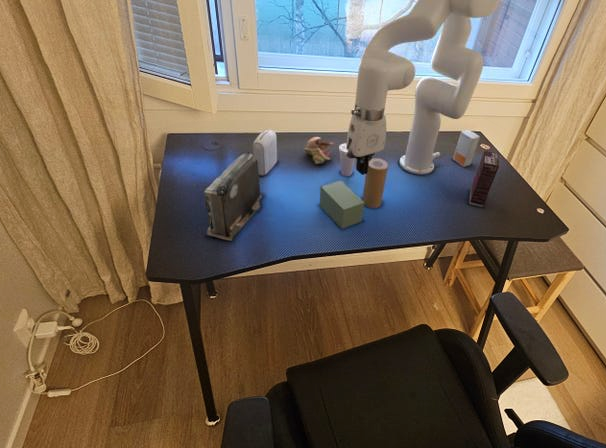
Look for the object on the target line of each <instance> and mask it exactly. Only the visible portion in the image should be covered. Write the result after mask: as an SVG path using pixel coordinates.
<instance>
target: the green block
mask: <svg viewBox="0 0 606 448" xmlns="http://www.w3.org/2000/svg"><path fill="white" fill-rule="evenodd" d="M319 190H320V192H319V206H320V208H321V209H322V210H323V211H324V212H325V213H326V214H327V215H328V216H329V217H330V218H331V219H332V220H333V221H334V223H336V225H338V227H339V228H340V229H342V230H343V229H345V228H348V227H351V226H353V225H356V224H359V223H361V222H363V217H364V208H365V205H364V203H365V202H364V201H363V200H362V199H363V198H361V197H360V196H358V195H357V193H355V192H354V191H353V190H352V189H351V188H350V187H349V186H348V185H347V184H345V182H344V181H342V180H341V179H340V180H338V181H334V182H331V183H328V184H324V185H321V186H320V189H319Z"/></svg>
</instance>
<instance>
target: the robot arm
mask: <svg viewBox="0 0 606 448" xmlns="http://www.w3.org/2000/svg"><path fill="white" fill-rule="evenodd" d="M500 2H501V0H417V1H416V3H415V4H414V6H412V9H411V10H410V12H409V13H408V14H406V15H404V16H401V17H398V18H396V19H395V20H393V21H390V22H389V23H388V24H385V25H384V26H382V27H381V28H379V30H377V31H376V32H375V34H374V35H373V37H372V38H371V39H370V41H369V42H368V43H367V44H366V47H365V49H364V50H363V52H362V55H361V57H360V62H359V65H358V71H357V80H356V91H355V101H354V108H353V109H351V111H350V113H351V119H350V122H349V126H348V130H347V136H346V143H347V144H346V147H347V149H348V152H347V157H349V158H350V159H351V158H356V166H355V170H356V171H357V172H358V173H359V174H360V175H361V176H363V175H364V176H365V175H366V174H367V172H368V165H369V161H371V159H373V156H374V155H375V154H376V153H379V152H382V151H383V150H384V149H385V146H386V140H387V115H385V109H386V103H387V96H388V92H389V91H398V90H403V89H405V88H407V87H409V86H410V85H411V84H412V82H413V81H414V79H415V77H416V67H415V65H414V63H413V62H412V61H411V60H410V59H408V58H406V57H404V56H402V55H399V54H396V53H394V52H391V51H390V50H391V49H392V48H394V47H396V46H398V45H401V44H406V43H417V42H423V41H429V40H431V39H433V38H434V37H435V36H436V35H437V33H438V32H439V30H440V29H441V31H440V34H439V37H438V40H437V42H436V45H435V48H434V51H433V54H432V57H431V60H430V68H431V69H432V71H434V72H435V73H436V74H439V75H441V76H444V77H447V78H449V79H451V80H455V81H457V85H456V84H453V83H451V82H449V81H446V80H443V79H441V78H439V77H434V76H424V77H422V78H421V79H419V81H418V83H417V84H416V87H415V90H414V108H413V109H414V110H413V117H412V121H411V126H410V131H409V136H408V140H407V144H406V151H405V154H403V155H402V156H400V158H399V166H400V167H401V168H402V169H403V170H405V171H406V172H407V173H411V174H415V175H421V176H423V175H429V174H430V173H432V172H433V171H434V169H435V163H434V162H433V161H434V160H435V159H438V158H440V157H441V153H440V152H439V151H437V152H435V153H434V151H435V148H436V144H437V141H438V136H439V133H440V129H441V124H442V122H441V121H442V120H441V118H442V117H441V116H442V115H443V116H445V117H448V118H450V119H452V120H459V119H460V118H462V117H463V116H464V115H465V113H466V111H467V109H468V107H469V105H470V103H471V100H472V98H473V95H474V92H475V90H476V87H477V85H478V84H479V83H478V82H479V80H480V78H481V75H482V72H483V68H484V57H483V55H482V53H481V52H479V51H477V50H475V49H472V48H469V47H467V44H468V41H469V39H470V36H471V34H472V21H471V19H479V18H480V19H481V18H486V17H489V16H491V15H492V14H493V13H494V12H495V11H496V10H497V8H498V6H499V5H500ZM441 27H442V28H441Z"/></svg>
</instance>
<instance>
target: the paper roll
mask: <svg viewBox="0 0 606 448" xmlns="http://www.w3.org/2000/svg"><path fill="white" fill-rule="evenodd" d="M388 168H389V163H388V162H387V161H386V160H384V159H383V158H378V157H377V158H376V157H375V158H372V159H371V161H369V165H368V172H367V174H365V177H364V178H365V179H364V184H363V185H364V186H363V192H362V198H361V199H362V200H363V201H364V202H365V203H364V207H366V208H369V209H377V208H380V207H381V206H382V202H383V197H384V191H385V185H386V179H387V176H388V175H387V174H388Z"/></svg>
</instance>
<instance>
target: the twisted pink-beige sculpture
mask: <svg viewBox="0 0 606 448" xmlns="http://www.w3.org/2000/svg"><path fill="white" fill-rule="evenodd" d="M334 145H335V143H334V142H333V141H331V142H327V141H322V137H319V136H314V137H312V138H310V139H309V140H308V141H307V142H306V147H305V148H303V150H304V151H305V152H306V153H307V154H309V155H311V156H312V161H314V164H315V165H320V164H324V163H325V161H331V160H332V158H330V157H329V156H331V155H332V152H331V151H330V150H328V151H327V152H325V151H326V150H327V148H329V147H333V146H334Z"/></svg>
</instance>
